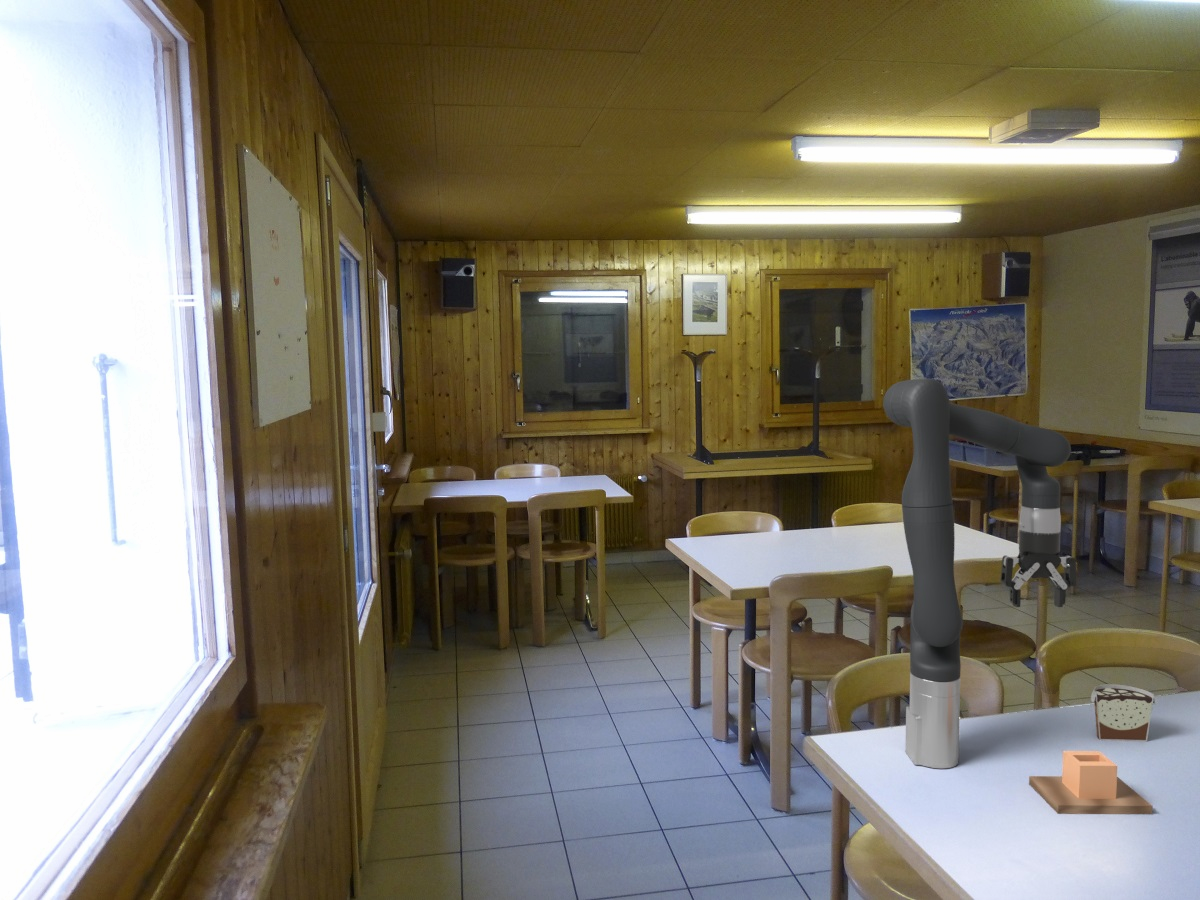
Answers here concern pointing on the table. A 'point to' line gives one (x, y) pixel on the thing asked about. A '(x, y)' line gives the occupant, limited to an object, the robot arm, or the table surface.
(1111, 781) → the orange open box
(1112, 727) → the food container
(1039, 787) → the base board
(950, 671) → the robot arm
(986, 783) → the table surface
